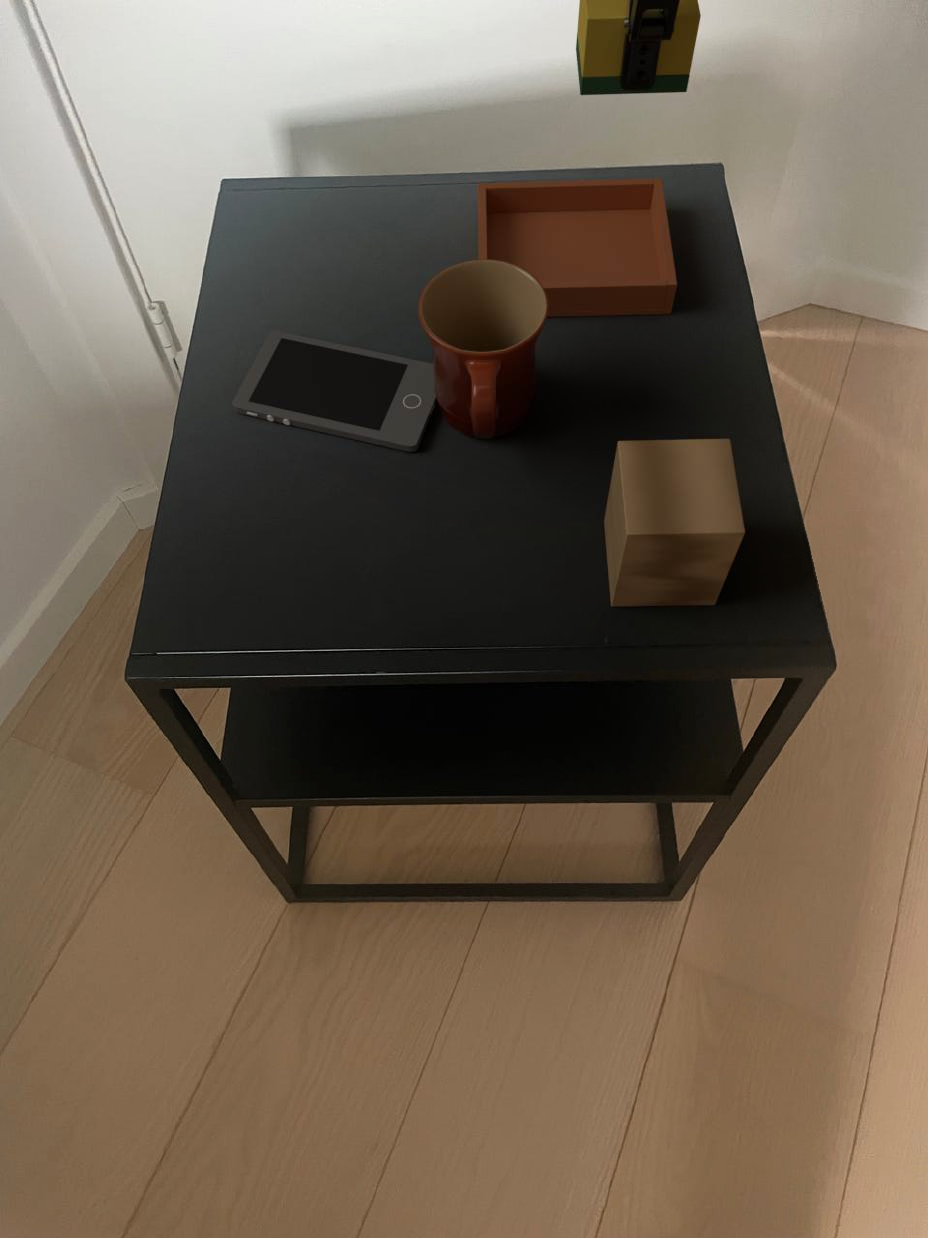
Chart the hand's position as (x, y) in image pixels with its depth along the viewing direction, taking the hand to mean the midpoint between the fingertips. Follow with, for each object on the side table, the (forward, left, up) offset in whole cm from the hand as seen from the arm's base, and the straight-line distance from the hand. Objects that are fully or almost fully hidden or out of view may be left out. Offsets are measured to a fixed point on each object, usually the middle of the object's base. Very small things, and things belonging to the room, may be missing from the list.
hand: (632, 58), depth 64 cm
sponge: (0, 0, -1) cm, 1 cm away
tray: (+3, -1, -18) cm, 18 cm away
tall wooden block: (-7, +27, -18) cm, 33 cm away
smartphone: (+19, +17, -18) cm, 31 cm away
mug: (+7, +17, -18) cm, 26 cm away
